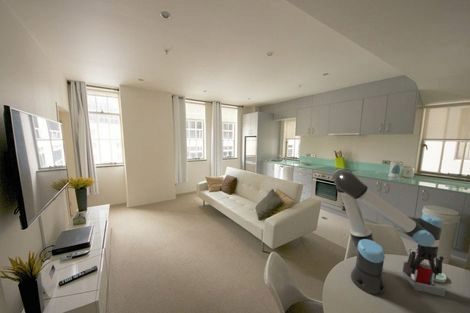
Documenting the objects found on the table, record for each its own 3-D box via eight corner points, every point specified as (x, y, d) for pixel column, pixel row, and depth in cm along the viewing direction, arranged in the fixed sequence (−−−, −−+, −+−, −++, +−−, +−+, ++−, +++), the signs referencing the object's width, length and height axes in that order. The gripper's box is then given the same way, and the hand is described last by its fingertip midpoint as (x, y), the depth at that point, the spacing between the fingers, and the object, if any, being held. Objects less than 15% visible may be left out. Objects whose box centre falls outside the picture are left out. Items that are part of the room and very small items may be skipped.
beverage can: (433, 290, 94) (437, 270, 92) (419, 287, 95) (422, 268, 94) (423, 279, 100) (426, 261, 99) (409, 277, 102) (412, 259, 100)
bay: (415, 289, 94) (417, 276, 93) (401, 272, 106) (403, 260, 105) (444, 296, 90) (446, 283, 89) (426, 278, 102) (428, 265, 101)
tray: (423, 278, 101) (424, 276, 101) (409, 263, 114) (409, 260, 113) (452, 285, 97) (453, 282, 97) (434, 268, 110) (435, 265, 109)
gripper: (410, 243, 94) (404, 281, 97) (458, 251, 88) (450, 291, 91) (401, 236, 101) (396, 271, 104) (445, 243, 95) (438, 280, 98)
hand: (421, 280), depth 98 cm, fingers closed on beverage can, 7 cm apart
